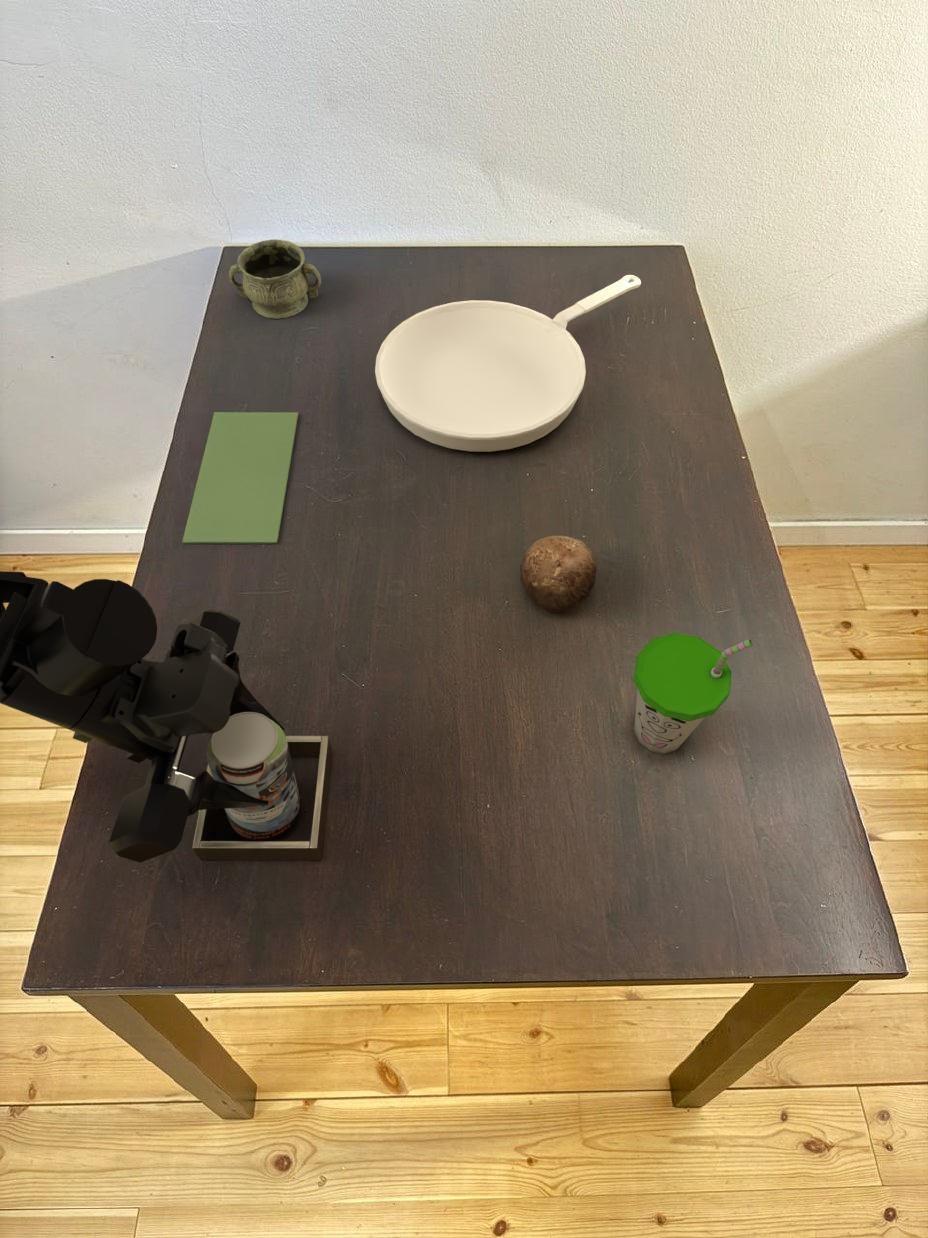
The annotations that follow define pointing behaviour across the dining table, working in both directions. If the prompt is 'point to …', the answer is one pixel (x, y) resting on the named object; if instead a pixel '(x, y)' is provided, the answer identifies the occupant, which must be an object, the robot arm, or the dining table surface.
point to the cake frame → (275, 849)
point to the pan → (485, 371)
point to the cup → (678, 688)
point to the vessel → (275, 278)
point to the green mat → (242, 479)
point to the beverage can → (256, 774)
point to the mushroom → (558, 573)
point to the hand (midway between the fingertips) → (273, 767)
